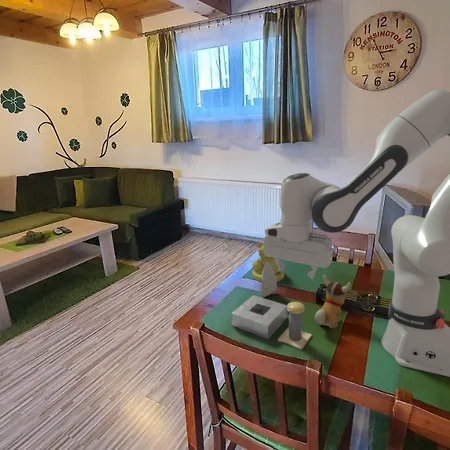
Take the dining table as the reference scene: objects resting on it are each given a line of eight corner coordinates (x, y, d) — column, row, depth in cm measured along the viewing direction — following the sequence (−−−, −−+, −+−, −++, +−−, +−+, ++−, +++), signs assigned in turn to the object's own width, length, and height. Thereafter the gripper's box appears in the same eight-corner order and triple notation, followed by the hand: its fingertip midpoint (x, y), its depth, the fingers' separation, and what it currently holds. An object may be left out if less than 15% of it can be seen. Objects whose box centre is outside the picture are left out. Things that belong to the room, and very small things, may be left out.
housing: (287, 318, 116) (287, 305, 114) (267, 339, 105) (267, 326, 104) (253, 306, 124) (253, 295, 122) (232, 325, 113) (231, 313, 112)
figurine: (246, 277, 148) (244, 246, 143) (264, 265, 158) (263, 236, 153) (273, 286, 138) (273, 253, 134) (290, 273, 149) (291, 242, 144)
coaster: (311, 335, 106) (311, 334, 105) (301, 349, 100) (301, 348, 99) (288, 328, 110) (288, 326, 110) (277, 340, 104) (277, 339, 104)
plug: (306, 335, 105) (307, 304, 102) (299, 344, 101) (300, 312, 98) (291, 330, 108) (291, 300, 105) (284, 338, 104) (284, 307, 101)
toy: (352, 317, 114) (355, 278, 109) (330, 339, 104) (333, 297, 99) (326, 308, 120) (328, 270, 116) (304, 327, 110) (305, 287, 106)
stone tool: (263, 301, 127) (262, 265, 123) (258, 298, 130) (257, 263, 125) (279, 293, 132) (278, 259, 127) (273, 290, 134) (273, 257, 130)
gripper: (336, 232, 90) (334, 277, 94) (270, 223, 102) (271, 263, 106) (328, 239, 85) (326, 287, 90) (260, 229, 97) (261, 271, 101)
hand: (295, 274), depth 98 cm, fingers open, 8 cm apart
